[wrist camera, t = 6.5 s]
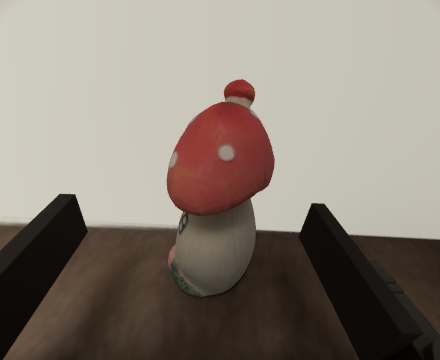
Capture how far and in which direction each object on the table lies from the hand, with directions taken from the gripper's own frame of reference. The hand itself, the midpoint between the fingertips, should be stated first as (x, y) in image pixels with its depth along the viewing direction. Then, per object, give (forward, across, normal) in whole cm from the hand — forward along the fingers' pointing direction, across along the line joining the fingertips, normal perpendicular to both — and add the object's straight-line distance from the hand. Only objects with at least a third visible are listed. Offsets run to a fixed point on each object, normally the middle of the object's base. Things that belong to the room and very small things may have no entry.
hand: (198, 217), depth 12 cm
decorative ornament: (+3, +1, -8) cm, 9 cm away
